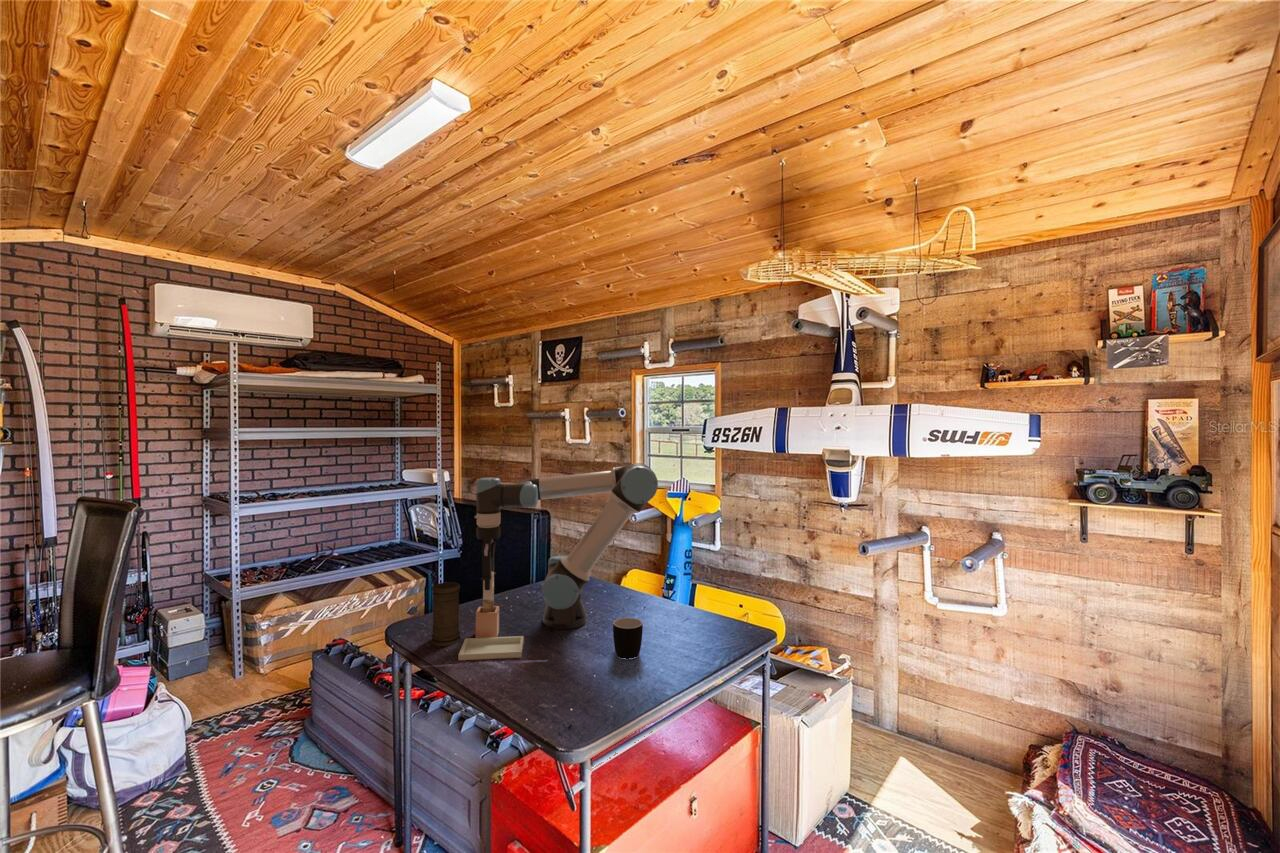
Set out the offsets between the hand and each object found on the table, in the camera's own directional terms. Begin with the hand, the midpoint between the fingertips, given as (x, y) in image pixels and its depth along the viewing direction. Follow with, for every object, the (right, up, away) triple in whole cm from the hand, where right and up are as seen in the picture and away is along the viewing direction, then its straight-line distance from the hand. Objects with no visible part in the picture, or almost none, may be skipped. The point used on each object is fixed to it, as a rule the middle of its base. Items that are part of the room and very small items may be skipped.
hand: (488, 597), depth 181 cm
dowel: (0, -10, 0) cm, 10 cm away
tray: (+4, -13, -11) cm, 18 cm away
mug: (+45, -14, -12) cm, 48 cm away
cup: (0, -13, 0) cm, 13 cm away
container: (-12, -13, -4) cm, 19 cm away
